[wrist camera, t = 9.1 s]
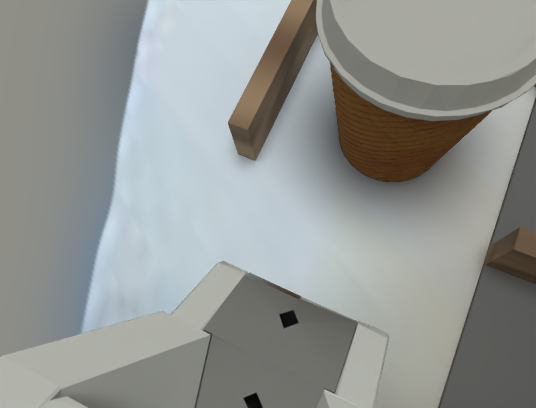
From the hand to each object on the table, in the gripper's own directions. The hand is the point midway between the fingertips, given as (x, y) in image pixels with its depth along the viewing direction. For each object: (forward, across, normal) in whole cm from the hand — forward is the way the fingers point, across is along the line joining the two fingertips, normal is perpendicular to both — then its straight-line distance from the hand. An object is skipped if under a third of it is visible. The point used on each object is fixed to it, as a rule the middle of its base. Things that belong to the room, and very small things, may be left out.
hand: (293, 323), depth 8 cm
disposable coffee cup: (+23, 0, +3) cm, 23 cm away
